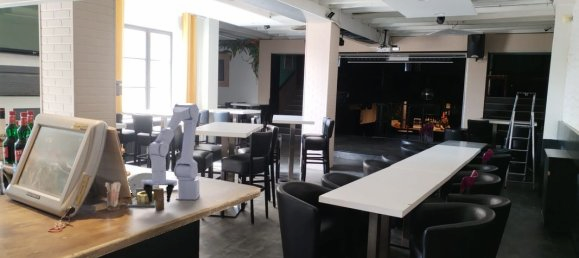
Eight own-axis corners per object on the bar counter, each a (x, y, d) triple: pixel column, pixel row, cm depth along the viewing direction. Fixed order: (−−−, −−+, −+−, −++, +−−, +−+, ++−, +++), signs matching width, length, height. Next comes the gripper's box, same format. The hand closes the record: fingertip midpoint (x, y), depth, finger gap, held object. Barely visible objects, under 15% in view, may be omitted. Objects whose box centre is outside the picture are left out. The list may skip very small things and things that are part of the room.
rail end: (165, 208, 183) (164, 187, 181) (162, 210, 179) (162, 190, 178) (157, 208, 183) (156, 187, 181) (154, 210, 179) (153, 190, 178)
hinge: (133, 196, 199) (127, 176, 200) (127, 198, 202) (121, 178, 202) (160, 188, 214) (155, 169, 214) (154, 190, 216) (148, 171, 217)
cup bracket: (163, 199, 196) (162, 188, 195) (155, 207, 184) (154, 196, 183) (137, 198, 196) (136, 188, 195) (127, 206, 184) (126, 195, 183)
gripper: (138, 172, 175) (139, 204, 176) (173, 172, 175) (174, 204, 176) (144, 168, 182) (145, 199, 183) (177, 169, 182) (178, 199, 183)
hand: (159, 201), depth 180 cm, fingers open, 7 cm apart
